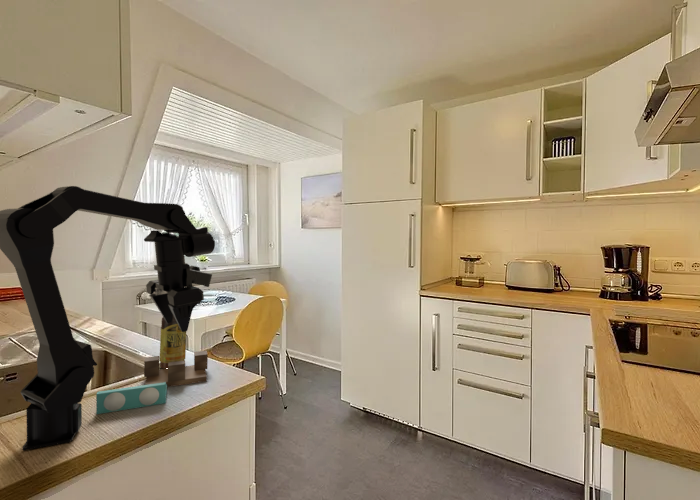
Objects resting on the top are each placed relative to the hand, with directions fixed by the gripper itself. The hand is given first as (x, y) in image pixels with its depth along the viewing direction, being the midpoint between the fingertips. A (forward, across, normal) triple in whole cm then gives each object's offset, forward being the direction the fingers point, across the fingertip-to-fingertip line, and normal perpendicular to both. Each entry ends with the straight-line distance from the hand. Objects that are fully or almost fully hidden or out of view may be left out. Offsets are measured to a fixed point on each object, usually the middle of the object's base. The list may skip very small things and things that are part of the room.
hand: (176, 326), depth 82 cm
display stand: (+14, +5, 0) cm, 15 cm away
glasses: (+13, -1, +10) cm, 17 cm away
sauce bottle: (+15, +14, -3) cm, 21 cm away
